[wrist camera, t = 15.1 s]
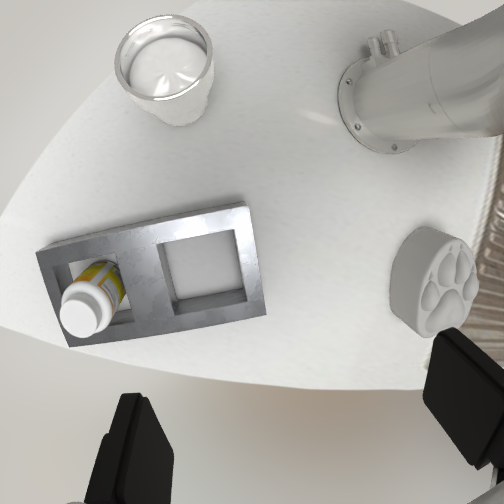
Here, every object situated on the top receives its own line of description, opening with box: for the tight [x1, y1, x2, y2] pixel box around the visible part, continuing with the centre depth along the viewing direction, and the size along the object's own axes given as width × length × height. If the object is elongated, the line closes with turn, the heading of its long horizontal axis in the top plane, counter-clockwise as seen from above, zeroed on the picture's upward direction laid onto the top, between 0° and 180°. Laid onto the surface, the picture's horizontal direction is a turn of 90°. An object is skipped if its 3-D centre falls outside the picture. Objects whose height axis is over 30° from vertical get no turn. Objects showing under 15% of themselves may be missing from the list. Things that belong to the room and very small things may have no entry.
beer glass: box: [115, 15, 214, 126], centre depth 24 cm, size 7×7×15 cm
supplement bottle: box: [60, 261, 126, 338], centre depth 31 cm, size 6×6×10 cm
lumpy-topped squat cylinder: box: [390, 227, 479, 338], centre depth 37 cm, size 10×13×9 cm
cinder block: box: [35, 202, 266, 347], centre depth 34 cm, size 12×24×4 cm, turn 99°
